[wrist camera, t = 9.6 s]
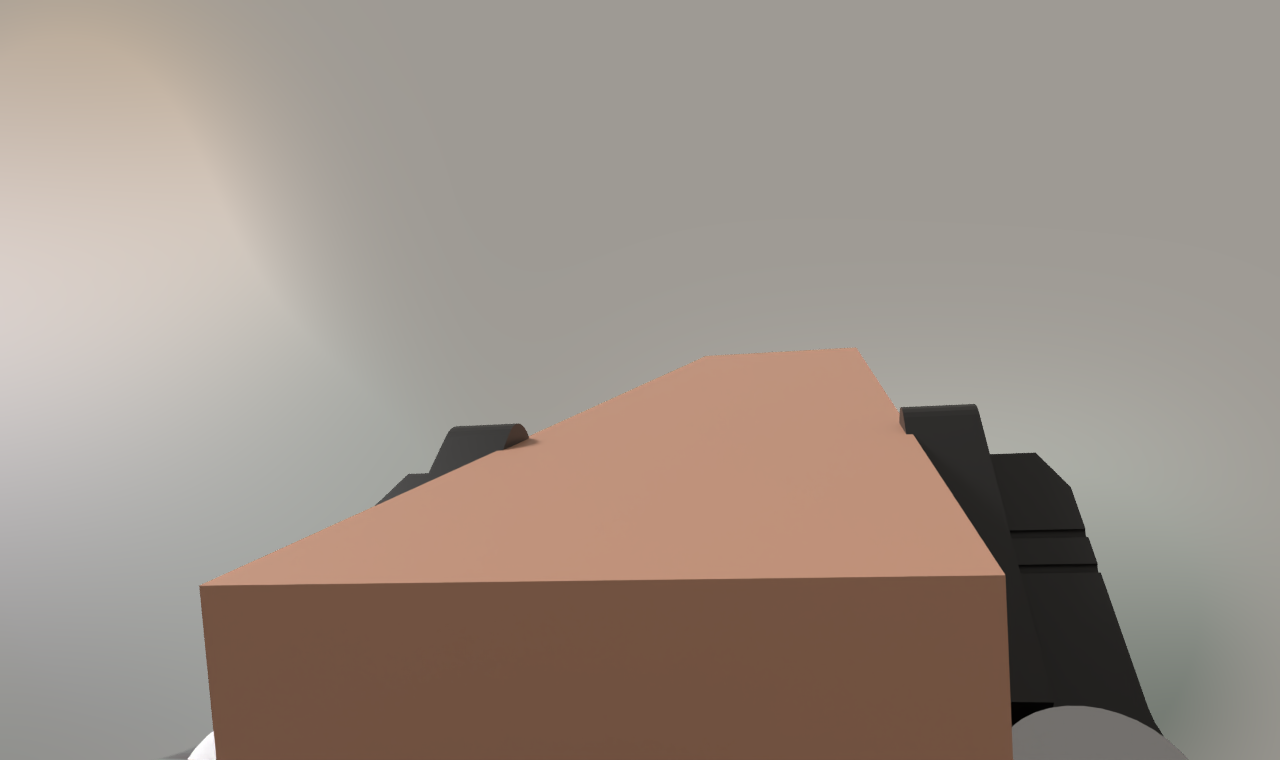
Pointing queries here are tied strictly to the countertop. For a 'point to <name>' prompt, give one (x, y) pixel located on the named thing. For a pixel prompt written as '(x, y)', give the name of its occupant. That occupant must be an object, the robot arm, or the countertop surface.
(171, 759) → the countertop surface
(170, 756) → the countertop surface
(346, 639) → the terracotta rod
